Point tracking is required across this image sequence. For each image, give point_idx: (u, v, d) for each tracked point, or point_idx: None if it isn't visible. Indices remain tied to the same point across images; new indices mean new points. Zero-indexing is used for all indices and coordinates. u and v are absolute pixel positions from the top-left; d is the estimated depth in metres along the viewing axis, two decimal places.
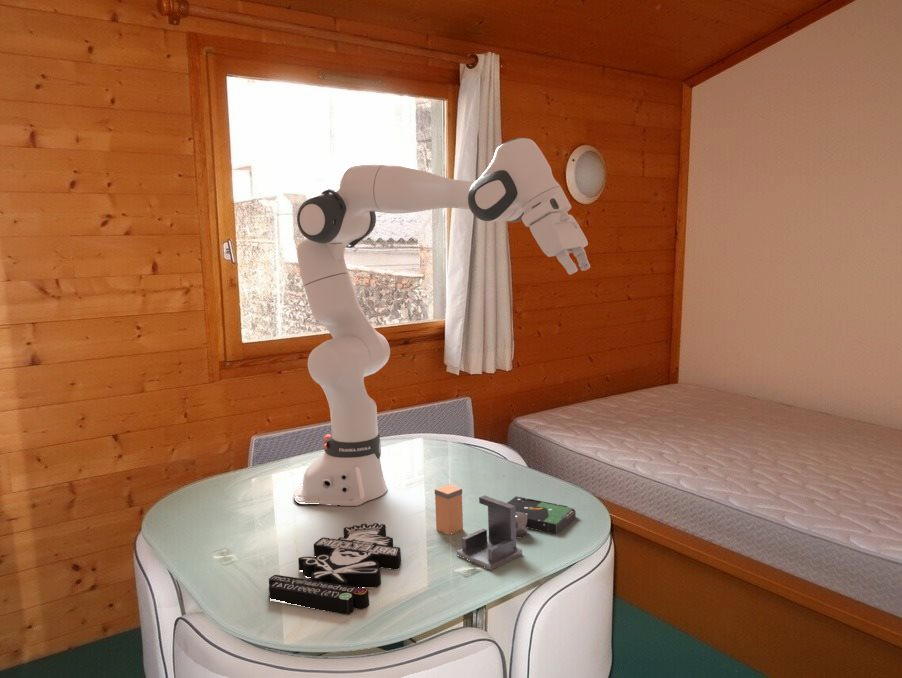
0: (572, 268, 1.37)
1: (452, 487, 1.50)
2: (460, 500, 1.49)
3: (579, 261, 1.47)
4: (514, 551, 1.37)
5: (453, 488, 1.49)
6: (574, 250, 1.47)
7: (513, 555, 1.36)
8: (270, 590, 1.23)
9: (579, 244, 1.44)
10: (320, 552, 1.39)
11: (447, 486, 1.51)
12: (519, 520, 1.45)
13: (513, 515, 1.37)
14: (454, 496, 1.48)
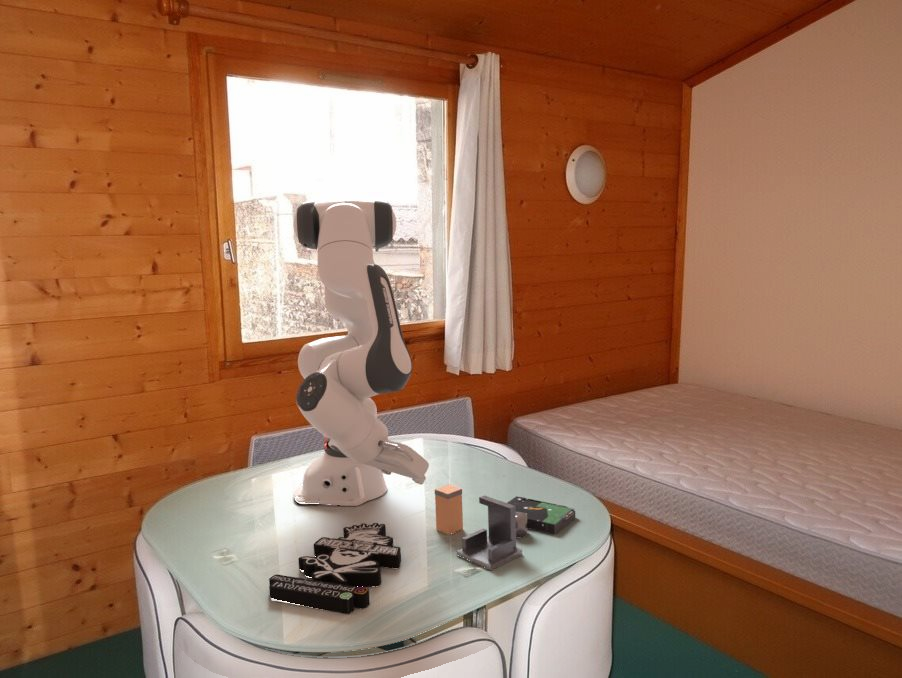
0: None
1: (452, 487, 1.50)
2: (460, 500, 1.49)
3: None
4: (514, 551, 1.37)
5: (453, 488, 1.50)
6: None
7: (513, 555, 1.36)
8: (270, 590, 1.23)
9: None
10: (320, 551, 1.39)
11: (447, 486, 1.51)
12: (519, 520, 1.45)
13: (513, 515, 1.37)
14: (454, 496, 1.48)
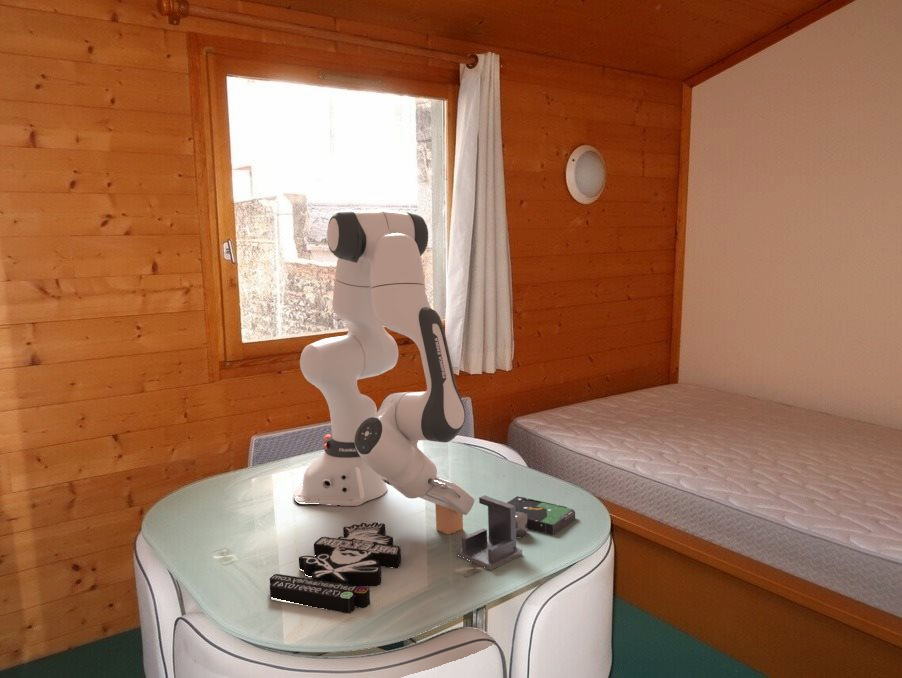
0: None
1: None
2: None
3: None
4: (514, 551, 1.37)
5: None
6: None
7: (513, 555, 1.36)
8: (271, 589, 1.23)
9: None
10: (321, 551, 1.39)
11: None
12: (519, 520, 1.45)
13: (513, 515, 1.37)
14: None
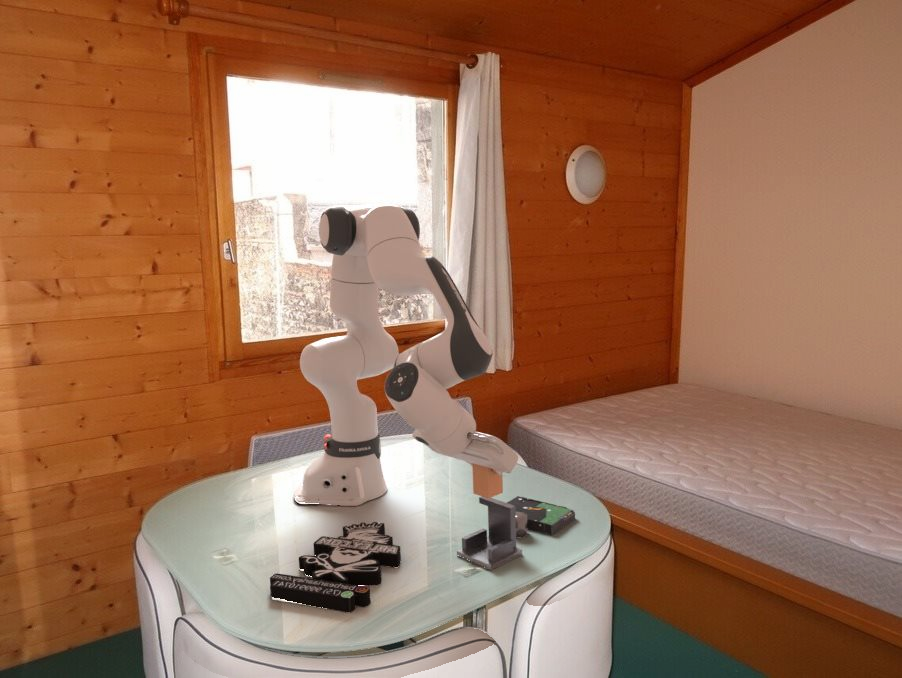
0: None
1: None
2: None
3: None
4: (514, 551, 1.37)
5: None
6: None
7: (513, 555, 1.36)
8: (271, 589, 1.24)
9: (481, 465, 1.31)
10: (320, 550, 1.39)
11: None
12: (519, 520, 1.45)
13: (513, 515, 1.37)
14: None
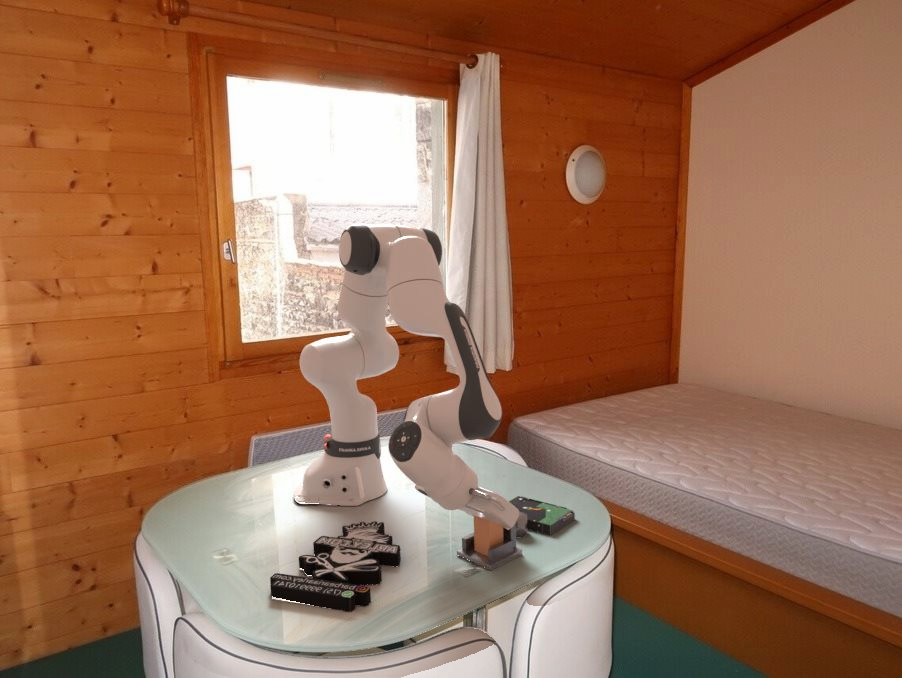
0: None
1: None
2: None
3: None
4: (514, 551, 1.37)
5: None
6: None
7: (513, 555, 1.36)
8: (272, 588, 1.24)
9: None
10: (320, 550, 1.40)
11: None
12: (519, 520, 1.45)
13: None
14: None
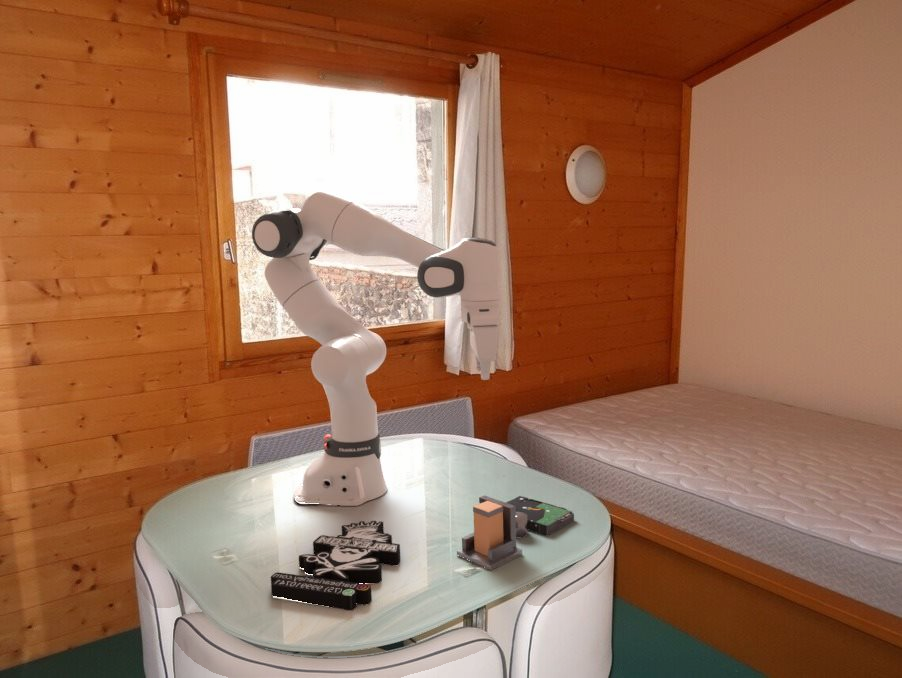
0: (487, 376, 1.51)
1: (492, 504, 1.38)
2: (501, 518, 1.37)
3: (477, 361, 1.61)
4: (514, 551, 1.37)
5: (493, 505, 1.37)
6: None
7: (513, 555, 1.36)
8: (273, 587, 1.24)
9: None
10: (320, 549, 1.40)
11: (486, 503, 1.38)
12: (519, 520, 1.45)
13: (513, 515, 1.37)
14: (495, 515, 1.35)
